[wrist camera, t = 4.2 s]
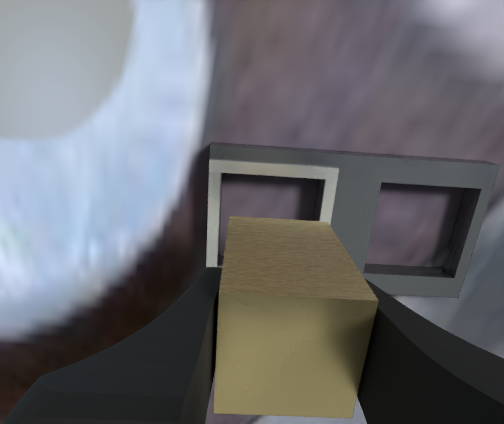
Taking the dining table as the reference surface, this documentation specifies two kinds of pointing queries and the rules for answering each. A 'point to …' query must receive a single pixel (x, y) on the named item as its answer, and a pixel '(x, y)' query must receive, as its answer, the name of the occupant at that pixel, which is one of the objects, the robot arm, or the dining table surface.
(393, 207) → the dining table surface
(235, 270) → the brass block
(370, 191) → the grey double window frame
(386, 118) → the dining table surface
